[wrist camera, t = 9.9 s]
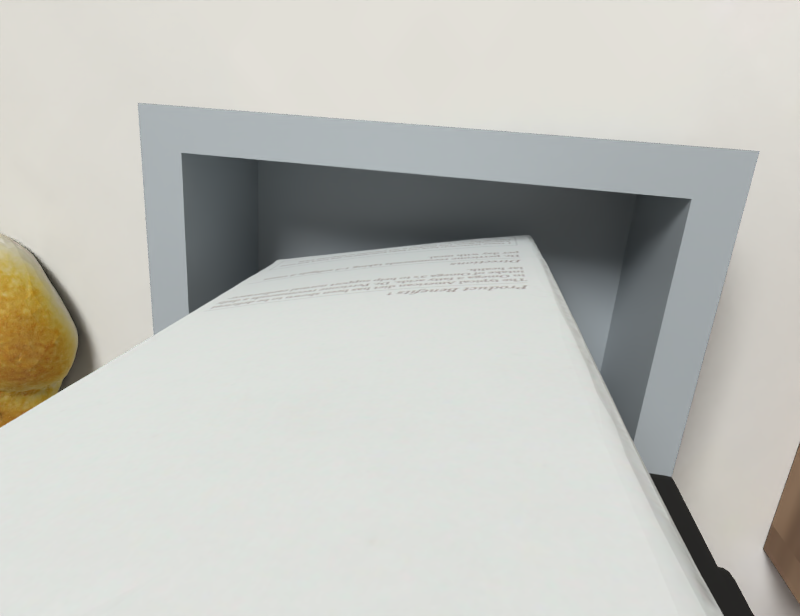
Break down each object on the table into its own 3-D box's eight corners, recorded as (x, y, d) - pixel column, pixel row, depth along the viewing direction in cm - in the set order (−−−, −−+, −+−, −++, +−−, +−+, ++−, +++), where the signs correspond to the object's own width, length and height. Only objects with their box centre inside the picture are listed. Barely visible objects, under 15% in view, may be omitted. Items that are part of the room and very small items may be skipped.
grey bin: (677, 147, 15) (759, 151, 10) (591, 531, 19) (622, 659, 14) (238, 113, 17) (137, 103, 12) (243, 470, 21) (169, 566, 16)
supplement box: (316, 479, 17) (-63, 1227, 5) (274, 253, 15) (-489, 664, 3) (554, 477, 16) (740, 1472, 4) (544, 228, 14) (857, 776, 2)
